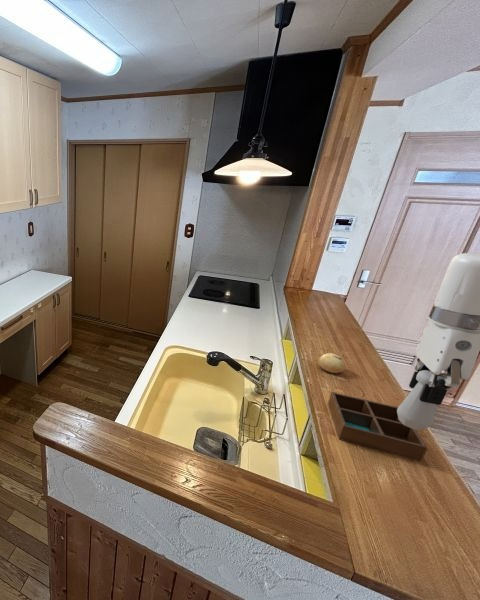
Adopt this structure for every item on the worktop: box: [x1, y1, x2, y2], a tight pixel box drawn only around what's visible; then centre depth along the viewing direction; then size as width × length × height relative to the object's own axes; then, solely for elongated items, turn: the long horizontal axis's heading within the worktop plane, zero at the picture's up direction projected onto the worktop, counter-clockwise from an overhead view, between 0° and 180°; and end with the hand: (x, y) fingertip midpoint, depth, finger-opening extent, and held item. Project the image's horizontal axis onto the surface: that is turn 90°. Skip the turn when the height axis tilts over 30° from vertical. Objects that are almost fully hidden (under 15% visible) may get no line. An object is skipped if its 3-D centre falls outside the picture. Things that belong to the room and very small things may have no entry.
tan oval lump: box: [317, 352, 346, 374], centre depth 121 cm, size 8×8×7 cm
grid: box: [327, 391, 428, 462], centre depth 92 cm, size 17×17×5 cm
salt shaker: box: [397, 370, 446, 431], centre depth 69 cm, size 6×6×13 cm
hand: (424, 394), depth 69 cm, fingers closed on salt shaker, 4 cm apart
